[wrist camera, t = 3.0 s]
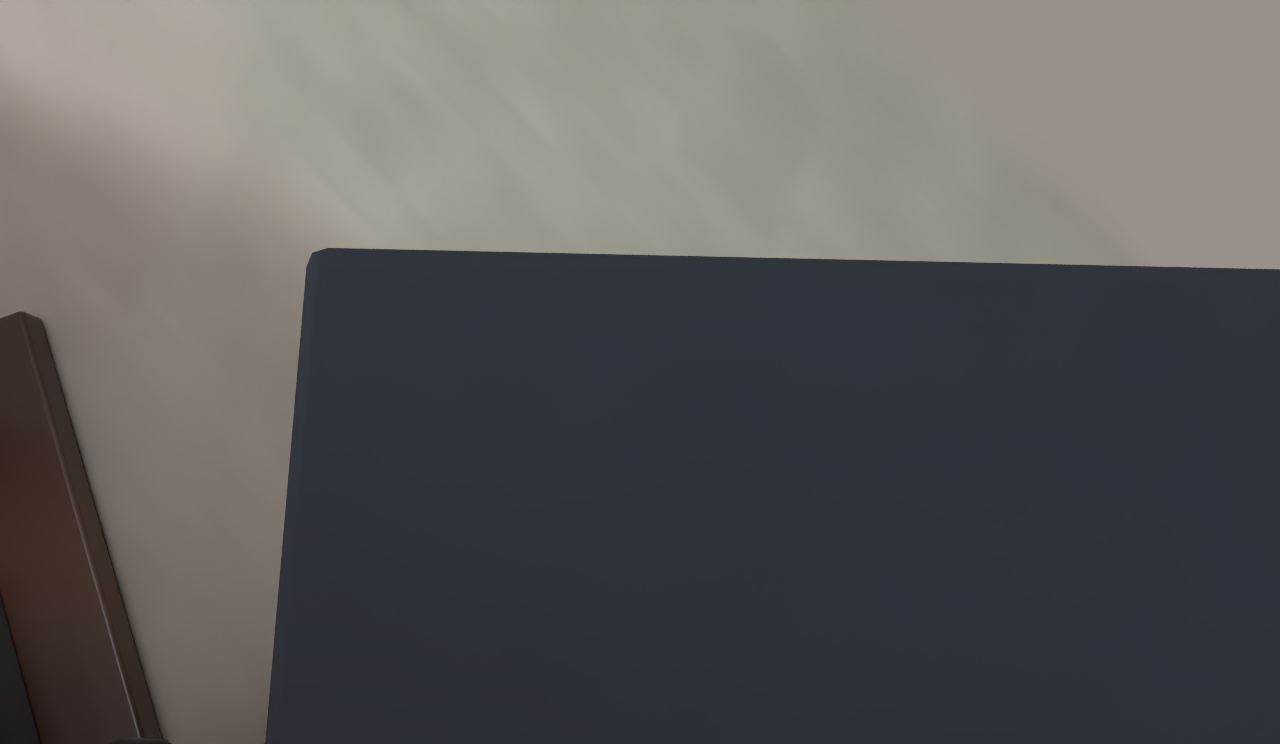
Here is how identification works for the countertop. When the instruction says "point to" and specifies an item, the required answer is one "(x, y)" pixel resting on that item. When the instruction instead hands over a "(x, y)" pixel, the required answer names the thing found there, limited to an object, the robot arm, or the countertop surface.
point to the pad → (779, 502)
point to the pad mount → (56, 572)
